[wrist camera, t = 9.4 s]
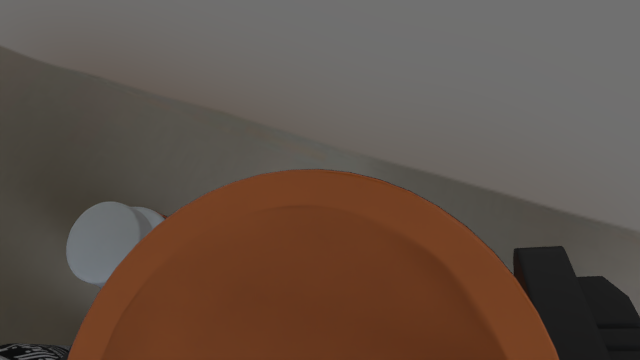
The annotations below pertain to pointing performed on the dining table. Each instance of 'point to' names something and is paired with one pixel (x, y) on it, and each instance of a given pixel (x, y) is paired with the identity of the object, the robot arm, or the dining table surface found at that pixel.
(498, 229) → the dining table surface
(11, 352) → the beverage can
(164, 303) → the spool
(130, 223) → the pill bottle
